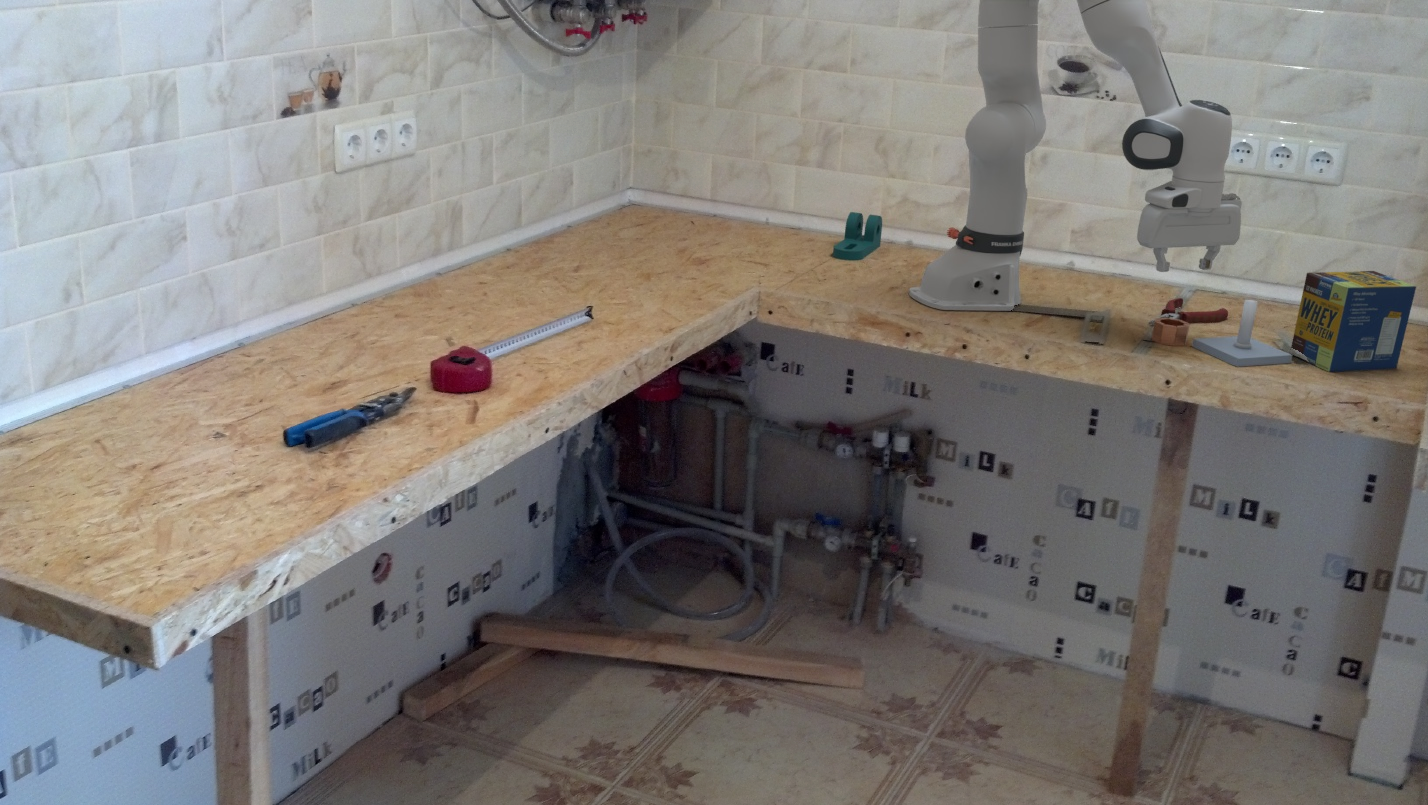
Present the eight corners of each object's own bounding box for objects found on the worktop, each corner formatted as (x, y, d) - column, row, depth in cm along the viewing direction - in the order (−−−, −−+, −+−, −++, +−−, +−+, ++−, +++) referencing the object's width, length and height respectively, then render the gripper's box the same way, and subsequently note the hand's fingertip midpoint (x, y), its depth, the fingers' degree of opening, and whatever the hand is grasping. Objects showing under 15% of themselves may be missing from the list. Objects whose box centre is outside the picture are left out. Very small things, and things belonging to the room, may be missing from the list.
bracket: (851, 243, 315) (854, 209, 312) (879, 247, 313) (883, 213, 310) (828, 258, 299) (832, 223, 296) (858, 263, 297) (861, 227, 294)
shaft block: (1236, 366, 238) (1247, 311, 235) (1191, 346, 249) (1201, 293, 246) (1290, 363, 243) (1302, 309, 239) (1244, 343, 253) (1254, 291, 250)
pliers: (1127, 323, 263) (1129, 310, 262) (1175, 308, 277) (1177, 295, 276) (1182, 338, 256) (1185, 324, 255) (1229, 321, 270) (1231, 308, 269)
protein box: (1287, 354, 248) (1305, 271, 243) (1356, 351, 253) (1374, 270, 247) (1328, 372, 239) (1347, 287, 233) (1398, 369, 243) (1418, 285, 238)
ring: (1165, 346, 248) (1169, 327, 247) (1145, 336, 253) (1148, 318, 252) (1192, 344, 250) (1196, 326, 249) (1171, 335, 255) (1175, 317, 254)
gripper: (1230, 190, 249) (1218, 263, 253) (1137, 192, 242) (1126, 268, 246) (1254, 196, 243) (1241, 271, 248) (1160, 199, 236) (1148, 276, 241)
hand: (1183, 270), depth 247 cm, fingers open, 8 cm apart
